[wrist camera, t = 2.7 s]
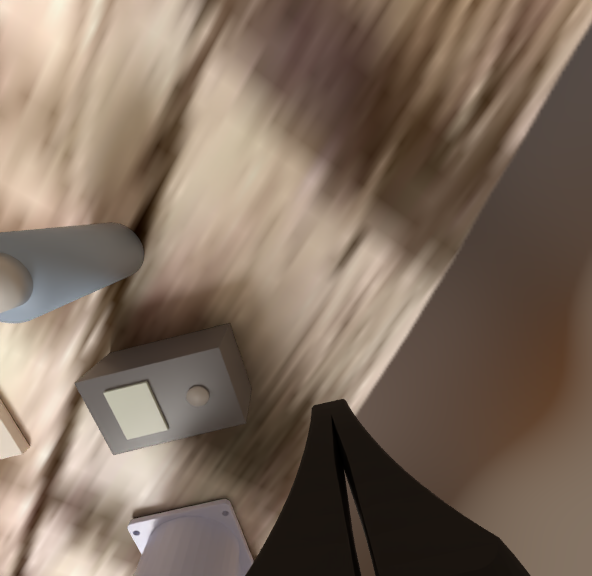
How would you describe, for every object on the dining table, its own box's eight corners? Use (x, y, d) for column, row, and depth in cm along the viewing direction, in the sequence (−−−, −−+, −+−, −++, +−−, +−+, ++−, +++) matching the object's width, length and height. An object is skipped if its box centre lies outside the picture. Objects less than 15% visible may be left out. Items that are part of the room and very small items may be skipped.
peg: (152, 270, 17) (49, 320, 10) (100, 282, 17) (-42, 342, 10) (131, 216, 16) (1, 225, 9) (77, 230, 16) (-99, 249, 9)
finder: (252, 386, 20) (245, 425, 16) (141, 413, 20) (111, 457, 17) (230, 321, 18) (218, 348, 15) (111, 351, 19) (72, 384, 15)
